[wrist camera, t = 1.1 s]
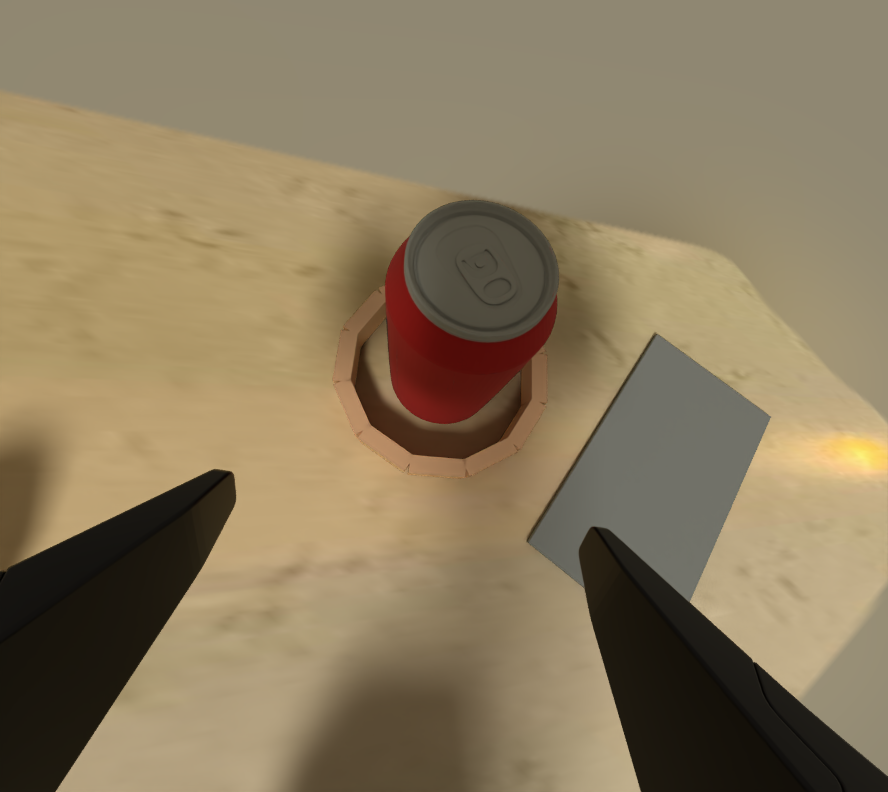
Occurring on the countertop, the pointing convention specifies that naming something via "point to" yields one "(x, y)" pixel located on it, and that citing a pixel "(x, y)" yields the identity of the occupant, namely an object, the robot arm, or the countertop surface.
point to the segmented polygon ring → (344, 385)
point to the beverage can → (467, 307)
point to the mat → (658, 470)
